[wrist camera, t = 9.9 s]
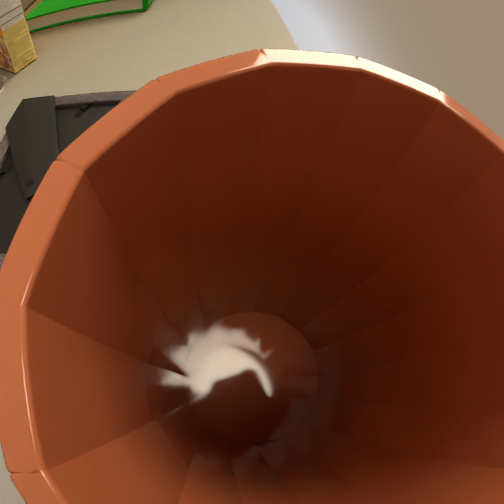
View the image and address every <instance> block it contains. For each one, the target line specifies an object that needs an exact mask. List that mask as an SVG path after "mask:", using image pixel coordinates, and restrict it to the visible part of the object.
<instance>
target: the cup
mask: <svg viewBox="0 0 504 504" xmlns="http://www.w3.org/2000/svg"><path fill="white" fill-rule="evenodd" d="M0 443H1V447H2V452H3V456H4V460H5V464H6V468H7V470H8V472H10V473H12V474H11V475H10V477H11V480H12V482H13V484H14V485H15V487H16V489H17V490H18V492H19V493H20V495H21V497H22V498H23V500H24V501H25V503H26V504H504V140H503V139H501V138H500V137H499V136H498V135H497V134H496V133H495V132H494V131H493V130H491V129H490V128H489V127H488V126H486V125H485V124H484V123H483V122H482V121H480V120H479V119H478V118H477V117H475V116H474V115H473V114H472V113H470V112H469V111H468V110H467V109H465V108H464V107H462V106H461V105H460V104H459V103H457V102H456V101H455V100H453V99H452V98H450V97H449V96H448V95H446V94H445V93H443V92H442V91H439V90H438V89H437V88H435V87H433V86H431V85H429V84H426V83H424V82H422V81H419V80H417V79H415V78H413V77H410V76H408V75H406V74H403V73H401V72H398V71H396V70H393V69H391V68H388V67H386V66H383V65H380V64H377V63H375V62H372V61H369V60H366V59H363V58H360V57H355V56H353V55H345V54H337V53H328V52H317V51H304V50H285V49H260V50H251V51H247V52H242V53H238V54H234V55H230V56H226V57H222V58H218V59H215V60H211V61H207V62H204V63H200V64H197V65H194V66H190V67H187V68H184V69H181V70H178V71H175V72H172V73H169V74H166V75H163V76H160V77H158V78H157V79H156V80H152V81H150V82H149V83H147V84H146V85H144V86H143V87H141V88H140V89H139V90H137V91H136V92H134V93H133V94H132V95H130V96H129V97H127V98H126V99H125V100H123V101H122V102H121V103H119V104H118V105H117V106H116V107H114V108H113V109H112V110H110V111H109V112H108V113H107V114H105V115H104V116H103V117H102V118H100V119H99V120H98V121H97V122H95V123H94V124H93V125H92V126H91V127H89V128H88V129H87V130H86V131H85V132H84V133H82V134H81V135H80V136H79V137H78V138H77V139H76V140H74V141H73V142H72V143H71V144H70V145H69V146H68V147H67V148H66V149H64V150H63V151H62V152H61V153H60V154H59V155H58V156H57V158H56V161H54V162H53V163H52V164H51V165H50V167H49V169H48V171H47V172H46V174H45V176H44V178H43V179H42V181H41V183H40V185H39V187H38V188H37V190H36V192H35V194H34V196H33V198H32V200H31V202H30V204H29V206H28V208H27V210H26V212H25V214H24V216H23V218H22V220H21V222H20V224H19V226H18V229H17V231H16V233H15V235H14V237H13V240H12V242H11V244H10V247H9V249H8V252H7V254H6V256H5V259H4V262H3V264H2V267H1V269H0Z"/></svg>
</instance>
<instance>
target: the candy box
mask: <svg viewBox="0 0 504 504" xmlns="http://www.w3.org/2000/svg"><path fill="white" fill-rule="evenodd" d="M36 58H37V57H36V54H35V50H34V47H33V44H32V40H31V37H30V33H29V29H28V25H27V21H26V17H25V13H24V9H23V4H22V0H0V68H3V69H5V70H8V71H11V72H13V73H15V74H16V73H18V72H19V71H20V70H21V69H23V68H24V67H25V66H26V65H28V64H29V63H31V62H32V61H33V60H35V59H36Z"/></svg>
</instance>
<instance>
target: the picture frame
mask: <svg viewBox="0 0 504 504" xmlns="http://www.w3.org/2000/svg"><path fill="white" fill-rule="evenodd" d="M134 92H136V91H115V92H100V93H88V94H78V95H69V96H61V97H55V96H45V97H36V98H29V99H23V100H22V101H21V103H20V104H19V106H18V108H17V109H16V111H15V112H14V114H13V116H12V117H11V119H10V121H9V122H8V124H7V126H6V128H5V129H6V133H5V135H4V137H3V139H2V141H1V143H0V269H1V267H2V264H3V262H4V259H5V256H6V254H7V252H8V249H9V247H10V244H11V242H12V240H13V237H14V235H15V233H16V231H17V229H18V226H19V224H20V222H21V220H22V218H23V216H24V214H25V212H26V210H27V208H28V206H29V204H30V202H31V200H32V198H33V196H34V194H35V192H36V190H37V188H38V187H39V185H40V183H41V181H42V179H43V178H44V176H45V174H46V172H47V171H48V169H49V167H50V165H51V164H52V163H53V162H54V161H56V158H57V156H58V155H59V154H60V153H61V152H62V151H63V150H64V149H66V148H67V147H68V146H69V145H70V144H71V143H72V142H73V141H74V140H76V139H77V138H78V137H79V136H80V135H81V134H82V133H84V132H85V131H86V130H87V129H88V128H89V127H91V126H92V125H93V124H94V123H95V122H97V121H98V120H99V119H100V118H102V117H103V116H104V115H105V114H107V113H108V112H109V111H110V110H112V109H113V108H114V107H116V106H117V105H118V104H119V103H121V102H122V101H123V100H125V99H126V98H127V97H129V96H130V95H132V94H133V93H134Z"/></svg>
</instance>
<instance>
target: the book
mask: <svg viewBox="0 0 504 504" xmlns="http://www.w3.org/2000/svg"><path fill="white" fill-rule="evenodd" d="M151 2H152V0H44V1H42V2H41V3H40V4H39V5H38V6H37V7H36V8H35V9H33V10H32V11H31V12H30V13H29V14H28V15H27V16H26V21H27V25H28V29H29V33H31V32H35V31H38V30H42V29H46V28H49V27H53V26H57V25H62V24H66V23H70V22H75V21H80V20H85V19H90V18H96V17H102V16H108V15H115V14H123V13H131V12H141V11H145V10H146V9H147V8H148V7H149V5H150V3H151Z"/></svg>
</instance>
